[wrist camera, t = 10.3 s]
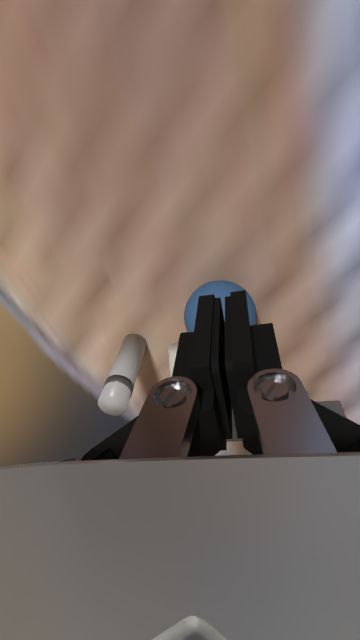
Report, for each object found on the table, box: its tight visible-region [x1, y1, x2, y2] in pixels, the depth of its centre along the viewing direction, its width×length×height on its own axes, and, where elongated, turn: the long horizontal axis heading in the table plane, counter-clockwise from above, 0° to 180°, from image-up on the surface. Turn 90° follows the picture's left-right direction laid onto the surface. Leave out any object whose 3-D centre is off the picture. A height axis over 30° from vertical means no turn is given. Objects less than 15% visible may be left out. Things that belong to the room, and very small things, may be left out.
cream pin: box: [168, 342, 179, 377], centre depth 35 cm, size 2×2×8 cm
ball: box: [184, 281, 256, 332], centre depth 29 cm, size 6×6×6 cm
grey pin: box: [98, 334, 147, 415], centre depth 31 cm, size 2×2×8 cm
